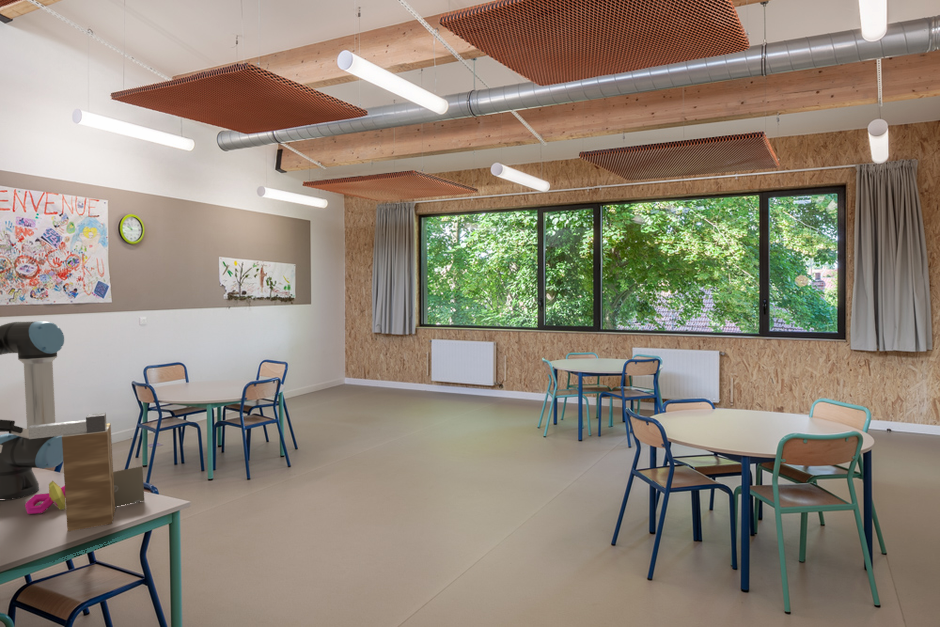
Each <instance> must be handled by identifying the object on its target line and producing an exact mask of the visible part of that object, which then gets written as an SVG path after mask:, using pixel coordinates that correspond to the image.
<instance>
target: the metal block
mask: <svg viewBox="0 0 940 627" xmlns="http://www.w3.org/2000/svg"><path fill="white" fill-rule="evenodd" d="M107 424H108V423H107V413H106V412H100V413H99V412H98V413H90V414H87V415H86V417H85V419H81V420H73V421H64V422H55V423H52V424H42V425H33V426H30V427H29V428H28V430H29V439H36V438H45V437H53V436H62V435H71V434H79V433H92V432H101V431H105V430H106V428H107Z"/></svg>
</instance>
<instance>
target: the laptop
mask: <svg viewBox="0 0 940 627" xmlns="http://www.w3.org/2000/svg"><path fill="white" fill-rule="evenodd" d="M143 468H144V467H143V465H142V466H138V467H137V466H136V467H132V468H127V469H121V470H117V471H113V478H114V496H115V507H117V506H121V505H125V504H126V505H127V504H130V503H135V502H140V501H143V500H144V501H145V487H144V486H145V485H144V470H143ZM140 503H141V502H140ZM135 504H136V503H135ZM127 506H128V505H127Z"/></svg>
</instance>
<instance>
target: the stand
mask: <svg viewBox="0 0 940 627" xmlns="http://www.w3.org/2000/svg"><path fill="white" fill-rule="evenodd" d="M106 424H107V428H106V430H105V431H101V432H92V433H79V434H71V435H62V448H63V462H62V464H63V477H64V478H63V479H64V486H65V515H66V527H67V528H66V530H67V532H73V531H79V530H84V529H90V528H96V527H100V526H107V525H112V524H113V522H112V521H114V518H113V517H115V514H116V513H115V512H116V508H115V496H114V478H113V472H114V462H113V446H112V444H113V443H112V427H111V423H109V422H108V423H106ZM114 513H115V514H114Z"/></svg>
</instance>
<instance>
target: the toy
mask: <svg viewBox="0 0 940 627" xmlns="http://www.w3.org/2000/svg"><path fill="white" fill-rule="evenodd" d="M38 503H40V504H39V505H37V504H38ZM53 504H54V505H55V507H56V508H57V509H59V510H60V511H63V510H66V498H65V485H63V486H62V487H60V485H58V484H57V483H56V482H55V481H54V480H51V481H50V482H49V483H48V493H38V494H37V493H36V494H34V495H33V496H32V497H30V498H29V500H27V501H26V502H25V504H24V507H25V511H26V513H27V515H36V514H37V515H38V514H44V512H46V511H47V510H48V509H49V508H50V507H52V505H53ZM62 509H63V510H62Z"/></svg>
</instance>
